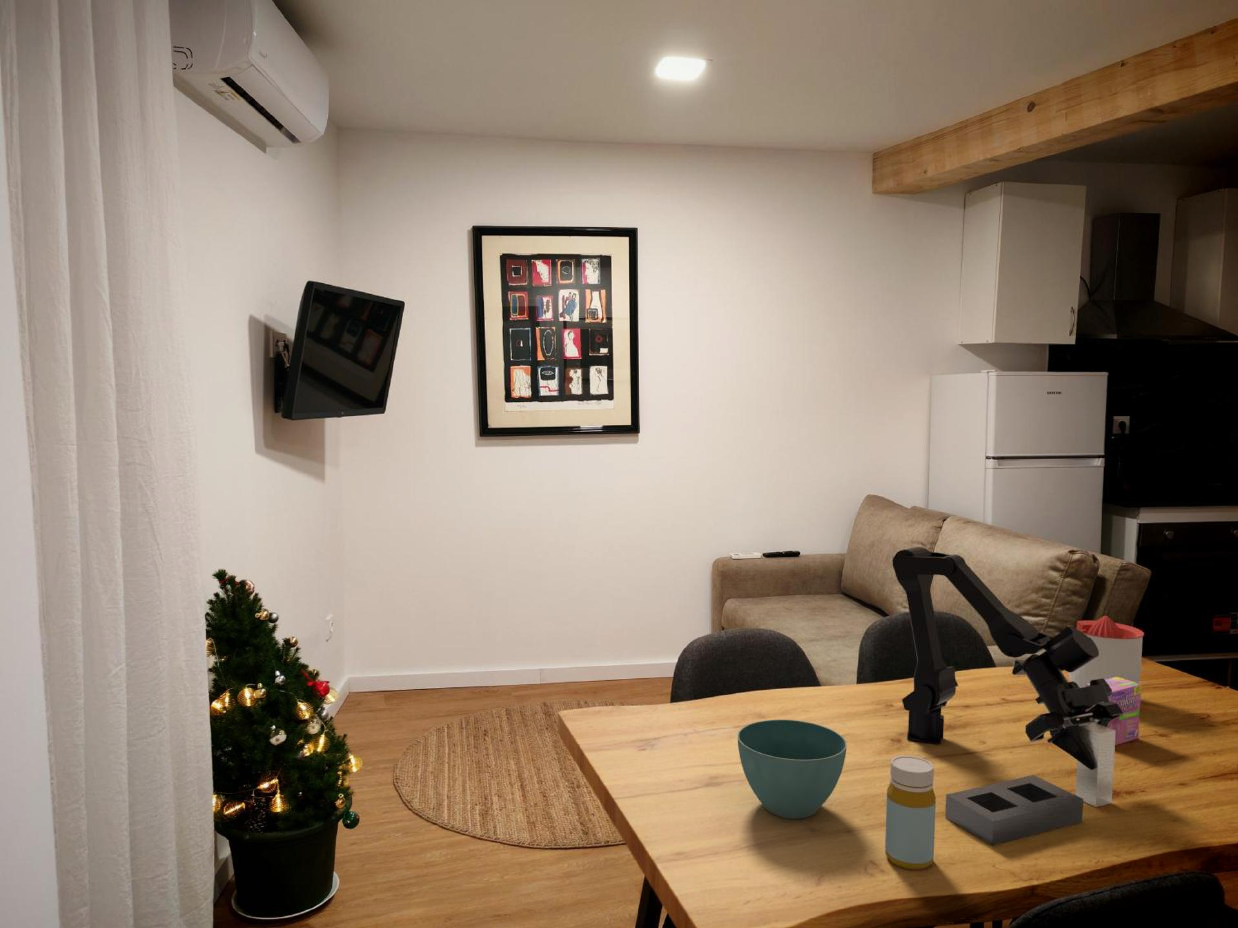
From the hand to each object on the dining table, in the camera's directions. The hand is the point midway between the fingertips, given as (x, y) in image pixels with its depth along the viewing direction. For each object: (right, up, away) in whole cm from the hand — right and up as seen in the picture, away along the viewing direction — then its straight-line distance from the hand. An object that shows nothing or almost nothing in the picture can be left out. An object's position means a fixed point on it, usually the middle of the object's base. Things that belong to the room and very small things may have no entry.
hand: (1102, 766), depth 151 cm
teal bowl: (-55, -7, -2) cm, 55 cm away
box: (+18, -5, +30) cm, 35 cm away
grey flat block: (-18, -7, -6) cm, 20 cm away
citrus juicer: (+29, -3, +54) cm, 62 cm away
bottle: (-40, -8, -18) cm, 44 cm away
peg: (-1, -6, +2) cm, 7 cm away
